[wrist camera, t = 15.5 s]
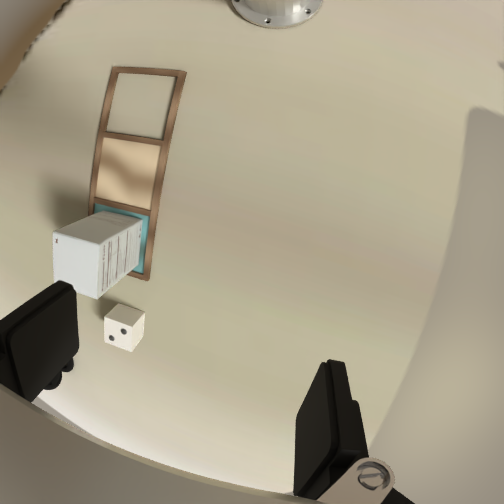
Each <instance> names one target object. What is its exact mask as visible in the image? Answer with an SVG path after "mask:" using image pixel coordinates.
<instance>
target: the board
mask: <svg viewBox="0 0 504 504" xmlns="http://www.w3.org/2000/svg"><path fill="white" fill-rule="evenodd" d="M119 73H133V74H149V75H161V76H172V77H178V78H177V82H176V86H175V90H174V94H173V99H172V103H171V107H170V111H169V116H168V120H167V125H166V130H165V135H164V139H163V140H157V139H151V138H145V137H138V136H131V135H124V134H117V133H109V132H106V129H107V123H108V118H109V113H110V108H111V104H112V99H113V95H114V90H115V86H116V82H117V78H118V74H119ZM186 74H187V72H185V71H177V70H166V69H153V68H135V67H113V69H112V73H111V77H110V81H109V85H108V89H107V94H106V98H105V103H104V107H103V112H102V117H101V122H100V128H99V133H98V139H97V145H96V152H95V158H94V165H93V173H92V181H91V190H90V200H89V211H88V216H91V215H93V214H95V213H98V212H101V211H103V210H104V211H108V212H112V213H117V214H121V215H126V216H130V217H135V218H139V219H142V220H143V222H142V232H141V242H140V253H139V264H138V265H137V266H136V267H135V268H134V269H133V270H131V271H130V272H129V273H128V274H127V275H129V276H132V277H135V278H138V279H141V280H145V281H148V280H149V279H150V270H151V262H152V253H153V245H154V238H155V230H156V223H157V216H158V210H159V203H160V197H161V191H162V185H163V180H164V174H165V168H166V163H167V158H168V153H169V148H170V143H171V138H172V133H173V128H174V124H175V119H176V115H177V110H178V106H179V102H180V98H181V93H182V89H183V85H184V81H185V77H186Z"/></svg>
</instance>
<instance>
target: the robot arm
mask: <svg viewBox="0 0 504 504" xmlns="http://www.w3.org/2000/svg"><path fill="white" fill-rule="evenodd" d="M237 1H239V2H237ZM322 2H323V0H232V4H233V6H234V8H235V9H236V11H237V12H238V13H239V14H240V15H241V16H242V17H243V18H244V19H246V20H247V21H249V22H251V23H253V24H256V25H258V26H261V27H266V28H275V29H281V28H290V27H294V26H297V25H300V24H302V23H304V22H306V21H308V20H309V19H311V18H312V17H313V16H314V15H315V14H316V13H317V12H318V10H319V9H320V7H321V4H322ZM306 13H309V14H306ZM267 22H270V23H267ZM78 349H79V336H78V321H77V299H76V290H74V287H73V285H72V284H69V283H67V282H64V281H62V280H58V281H57V282H55V283H54V284H52V285H50V286H49V287H47V288H46V289H44V290H43V291H41V292H40V293H39V294H37V295H36V296H34V297H33V298H31V299H30V300H28V301H27V302H25V303H24V304H22V305H21V306H20V307H18V308H17V309H15V310H14V311H13V312H11V313H10V314H8V315H7V316H6V317H4V318H3V319H1V320H0V504H415V503H413V502H412V501H410V500H409V499H408V498H406V497H405V496H404V495H402V494H401V493H399V492H398V491H397V490H395V489H394V488H393V485H394V483H395V476H394V473H393V471H392V469H391V468H390V466H388V465H387V464H386V463H385V462H383V461H381V460H379V459H376V458H369V455H368V449H367V444H366V438H365V433H364V428H363V422H362V417H361V412H360V407H359V404H358V402H357V401H356V400H352V397H351V392H350V387H349V382H348V376H347V372H346V367H345V363H344V362H341V361H336V360H331V359H329V360H328V361H327V362H326V363H325V362H322V363H321V364H320V367H319V369H318V371H317V373H316V375H315V378H314V380H313V382H312V384H311V386H310V388H309V391H308V393H307V395H306V397H305V399H304V401H303V403H302V405H301V407H300V409H299V411H298V414H297V417H296V433H295V465H294V489H293V493H294V496H291V495H286V494H281V493H276V492H270V491H264V490H259V489H254V488H249V487H245V486H240V485H236V484H231V483H227V482H223V481H219V480H215V479H211V478H207V477H203V476H200V475H196V474H193V473H189V472H186V471H183V470H179V469H176V468H173V467H170V466H167V465H164V464H161V463H158V462H155V461H153V460H150V459H147V458H144V457H142V456H139V455H136V454H134V453H131V452H129V451H126V450H124V449H121V448H119V447H117V446H114V445H112V444H110V443H107V442H105V441H103V440H101V439H98V438H96V437H94V436H92V435H90V434H88V433H86V432H83V431H81V430H79V429H77V428H75V427H73V426H72V425H70V424H68V423H66V422H64V421H62V420H60V419H58V418H56V417H55V416H53V415H51V414H49V413H47V412H45V411H44V410H42V409H40V408H39V407H37V406H35V405H34V404H32V403H31V402H32V401H33V400H34V399H35V398H36V397H37V396H38V395H39V393H40V392H41V391H42V390H43V389H44V388H45V387H46V386H47V385H48V383H49V382H50V381H51V380H52V379H53V378H54V377H55V376H56V375H57V374H58V373H59V371H60V370H61V369H62V368H63V367H64V366H65V365H66V364H67V363H68V362H69V361H70V360H71V359H72V358H73V356H74V355H75V354H76V353H77V352H78ZM297 496H298V497H297Z"/></svg>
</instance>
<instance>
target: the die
mask: <svg viewBox="0 0 504 504" xmlns="http://www.w3.org/2000/svg"><path fill="white" fill-rule="evenodd" d="M144 318H145V312H143V311H140V310H137V309H134V308H132V307H129V306H126V305H123V304H120V303H118V304H117V305H116V306H115V307H114V308H113V309H112V310H111V311H110V312H109V313H108V314H107V315H106V316H105V317H104V333H105V342H106V343H109V344H112V345H114V346H117V347H119V348H122V349H125V350H127V351H130V352H132V351H133V349H134V348H135V347H136V345H137V344H138V343H139V341H140V340H141V339H142V337H143V332H144Z"/></svg>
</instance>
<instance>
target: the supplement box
mask: <svg viewBox="0 0 504 504" xmlns="http://www.w3.org/2000/svg"><path fill="white" fill-rule="evenodd" d="M142 222H143V220H142V219H139V218H135V217H130V216H126V215H121V214H117V213H112V212H108V211H104V210H103V211H101V212H98V213H95V214H93V215H91V216H88V217H86V218H83V219H81V220H78V221H76V222H74V223H71V224H69V225H67V226H64V227H62V228H60V229H57V230H55V231H53V270H54V283H55V282H57V281H58V280H62V281H64V282H67V283H69V284H72V285H73V287H74V290H76V292H78V293H80V294H83V295H86V296H89V297H91V298H94V299H98V298H99V297H101V296H102V295H103V294H104V293H105V292H106V291H108V290H109V289H110V288H111V287H112V286H114V285H115V284H116V283H117V282H118V281H119V280H121V279H122V278H123V277H124V276H125V275H127V274H128V273H129V272H130V271H131V270H133V269H134V268H135V267H136V266H137V265H138V264H139V253H140V242H141V232H142Z"/></svg>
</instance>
